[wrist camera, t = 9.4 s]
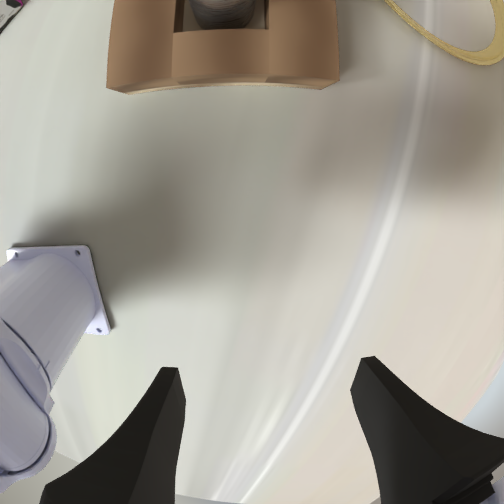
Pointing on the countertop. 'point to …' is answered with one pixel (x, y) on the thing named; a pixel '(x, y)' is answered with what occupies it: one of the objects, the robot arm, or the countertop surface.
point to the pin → (222, 13)
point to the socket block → (222, 47)
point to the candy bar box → (8, 11)
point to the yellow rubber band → (492, 54)
